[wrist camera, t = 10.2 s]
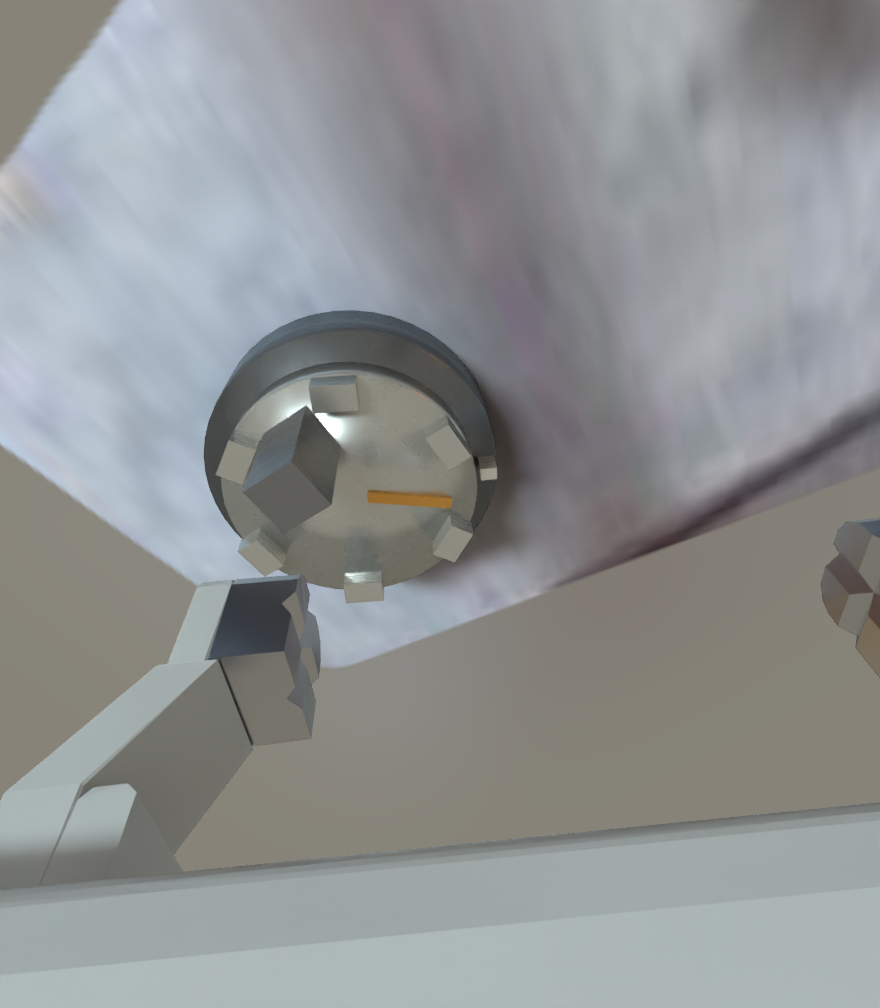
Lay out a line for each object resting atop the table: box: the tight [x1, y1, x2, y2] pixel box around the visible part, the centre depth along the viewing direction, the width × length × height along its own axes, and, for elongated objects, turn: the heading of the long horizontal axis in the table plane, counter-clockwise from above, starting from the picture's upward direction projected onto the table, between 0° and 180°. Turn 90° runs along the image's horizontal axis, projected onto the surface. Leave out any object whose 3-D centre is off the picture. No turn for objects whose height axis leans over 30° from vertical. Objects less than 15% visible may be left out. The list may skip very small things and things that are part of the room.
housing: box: [204, 311, 497, 559], centre depth 41 cm, size 18×18×6 cm
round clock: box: [216, 362, 477, 603], centre depth 37 cm, size 15×15×8 cm
